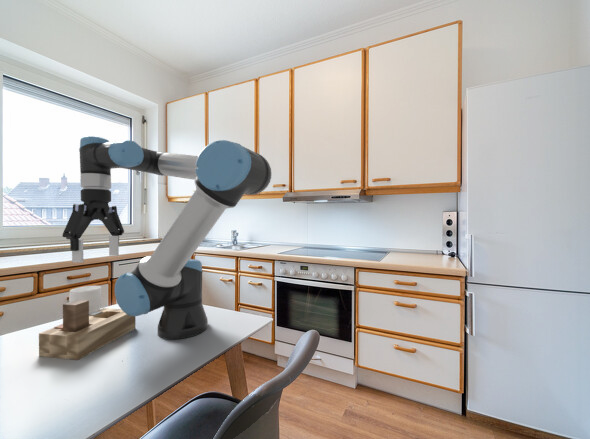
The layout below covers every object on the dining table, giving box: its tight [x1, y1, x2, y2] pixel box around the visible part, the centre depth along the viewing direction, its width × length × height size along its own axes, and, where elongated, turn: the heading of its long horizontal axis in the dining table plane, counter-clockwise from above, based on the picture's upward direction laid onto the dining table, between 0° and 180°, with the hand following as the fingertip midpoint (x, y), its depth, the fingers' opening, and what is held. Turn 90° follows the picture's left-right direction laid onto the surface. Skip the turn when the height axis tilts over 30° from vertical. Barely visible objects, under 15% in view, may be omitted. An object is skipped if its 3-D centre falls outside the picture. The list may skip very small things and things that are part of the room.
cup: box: [68, 285, 103, 313], centre depth 94 cm, size 9×9×12 cm
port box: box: [38, 307, 137, 361], centre depth 81 cm, size 12×20×6 cm, turn 171°
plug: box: [62, 300, 89, 332], centre depth 76 cm, size 4×4×12 cm
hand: (97, 258), depth 83 cm, fingers open, 13 cm apart
